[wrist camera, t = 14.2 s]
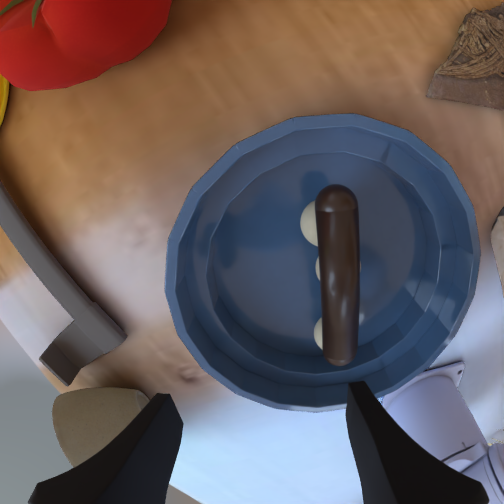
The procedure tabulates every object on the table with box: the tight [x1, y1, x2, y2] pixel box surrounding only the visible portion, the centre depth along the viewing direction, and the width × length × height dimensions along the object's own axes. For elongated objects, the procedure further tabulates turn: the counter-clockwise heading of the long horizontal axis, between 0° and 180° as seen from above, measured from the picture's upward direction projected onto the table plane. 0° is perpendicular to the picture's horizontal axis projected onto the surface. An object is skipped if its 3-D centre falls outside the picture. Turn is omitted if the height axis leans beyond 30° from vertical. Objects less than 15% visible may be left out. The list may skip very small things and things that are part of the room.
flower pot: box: [52, 387, 150, 467], centre depth 21 cm, size 10×10×7 cm
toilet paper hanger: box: [0, 180, 128, 386], centre depth 18 cm, size 20×8×3 cm, turn 37°
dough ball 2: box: [314, 317, 322, 349], centre depth 18 cm, size 3×3×3 cm
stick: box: [315, 184, 360, 366], centre depth 15 cm, size 10×2×2 cm, turn 8°
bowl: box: [164, 113, 481, 413], centre depth 17 cm, size 17×17×4 cm
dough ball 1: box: [300, 201, 318, 246], centre depth 16 cm, size 3×3×3 cm
